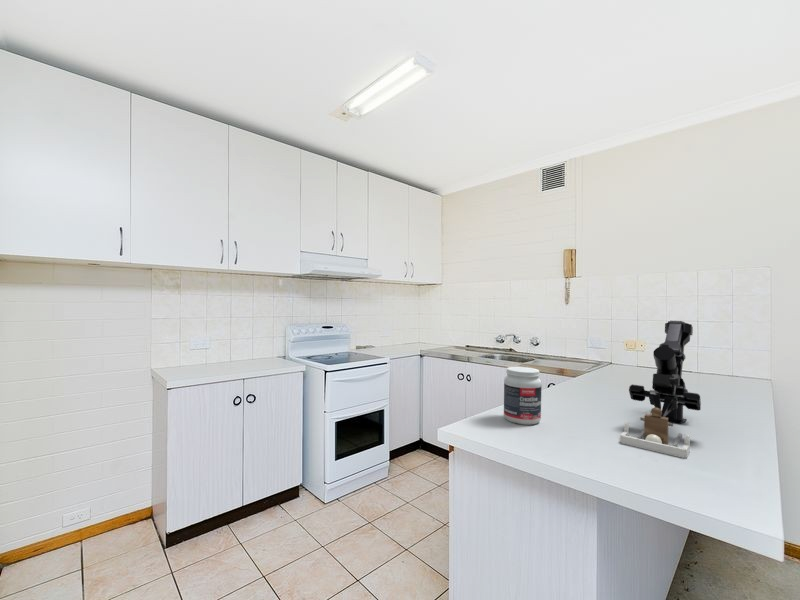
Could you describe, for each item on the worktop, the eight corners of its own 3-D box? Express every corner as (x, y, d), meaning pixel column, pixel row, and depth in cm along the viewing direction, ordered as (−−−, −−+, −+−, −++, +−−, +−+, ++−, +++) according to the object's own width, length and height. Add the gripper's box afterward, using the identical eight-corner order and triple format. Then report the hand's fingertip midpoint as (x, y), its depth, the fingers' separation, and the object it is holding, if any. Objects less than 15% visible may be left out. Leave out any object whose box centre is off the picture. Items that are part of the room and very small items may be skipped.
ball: (645, 436, 109) (645, 449, 109) (662, 439, 107) (662, 452, 107) (645, 430, 112) (645, 443, 113) (661, 433, 110) (661, 446, 110)
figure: (641, 438, 116) (641, 404, 116) (673, 445, 111) (673, 409, 111) (638, 441, 114) (639, 406, 114) (671, 449, 108) (671, 411, 108)
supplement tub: (527, 428, 127) (528, 374, 127) (496, 418, 137) (497, 368, 137) (548, 421, 135) (549, 370, 135) (517, 412, 145) (517, 365, 145)
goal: (624, 438, 118) (624, 421, 118) (689, 452, 107) (690, 435, 107) (619, 443, 113) (619, 426, 113) (687, 459, 102) (687, 441, 102)
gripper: (630, 360, 128) (622, 399, 120) (700, 367, 115) (696, 411, 107) (635, 379, 134) (627, 418, 126) (702, 388, 121) (698, 432, 113)
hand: (660, 419), depth 118 cm, fingers closed
